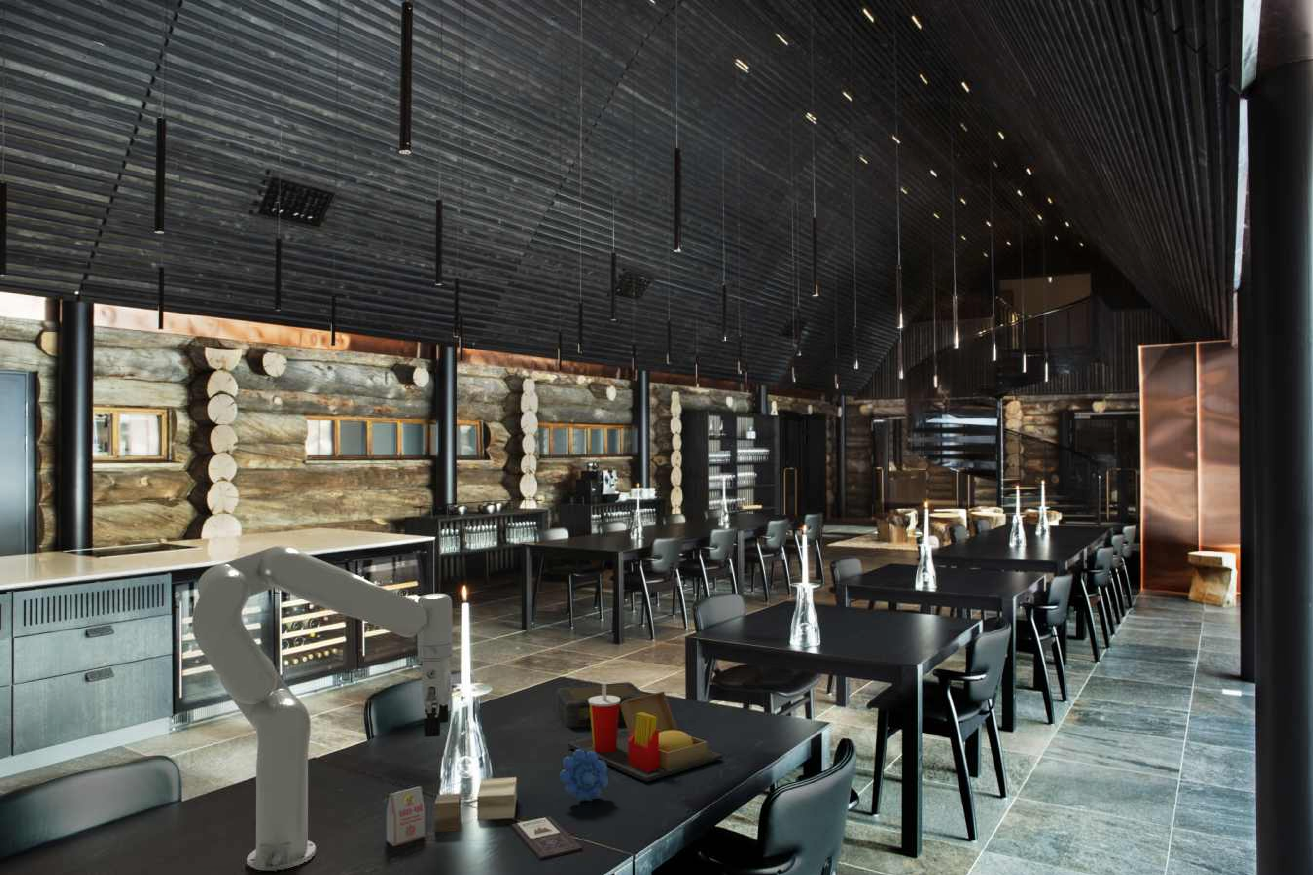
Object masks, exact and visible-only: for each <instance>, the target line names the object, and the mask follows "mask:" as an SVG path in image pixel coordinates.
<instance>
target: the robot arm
mask: <svg viewBox="0 0 1313 875" xmlns="http://www.w3.org/2000/svg"><path fill="white" fill-rule="evenodd" d="M273 589H276V590H278V591H281V592H283V593H286V594H288V595H291V596H293V597H297V598H298V599H299V598H300V599H302V600H304V601H307V602H309V603H312V604H314V605H317V606H319V607H322V608H324V609H327V610H329V611H331V612H332V611H333V612H335V613H337V614H340V615H343V616H346V617H350V618H354V619H357V620H360V621H362V622H365V623H368V624H370V625H372V626H376V627H378V628H381V629H384V630H385V631H389V632H391V633H394V634H396V635H399V636H401V637H404V638H405V637H406V638H409V637H413V636H417V660H418V661H421V662H422V669H421V671H422V672H421V673H422V674H421V680H422V687H421V688H422V689H421V692H422V695H421V697H422V698H421V699H422V705H423V706H424V707H425V708H424V719H423V720H424V722H423V723H424V724H423V726H424V729H423V730H424V737H426V738H427V737H428V738H429V737H430V738H431V737H439V736H440V735H441V723H443V724H445V723H448V722H449V704H448V702H449V701H450V699H451V698H452V696H453V686H452V684H453V682H452V668H451V667H452V666H451V665H452V664H451V659H452V658H453V657H454V642H453V641H454V640H453V637H454V636H453V629H454V627H453V599H452V597H451V596H450V595H448V594H445V593H433V594H432V593H431V594H425V595H421V596H404V595H401V594H398V593H396V592H392V591H390V590H388V589H387V588H384V587H382V586H379V585H378V584H374V583H373V582H371V581H369V580H367V579H365V578H363V577H361V576H360V575H358V574H355V573H353V572H352V571H348V570H346V569H343V568H341V567H339V566H337V565H333V564H331V563H329V562H327V561H324V560H321V559H320V558H319V559H318V558H317V557H314V556H312V555H309V554H307V553H305V552H303V551H300V550H297V549H295V548H291V547H288V546H285V545H283V546H282V545H278V546H273V547H269V548H266V549H262V550H260V551H257V552H254V553H251V554H248V555H244V556H243V557H242V556H241V557H238V558H235V559H233V560H230V561H226V562H223V563H219V564H217V565H214V566H212V567H210V568H208V569H207V570H205V572H203V573H202V575H201V577H200V578H199V579H198V582H197V594H198V596H199V597H198V599H197V602H196V604H195V606H194V609H193V613H192V620H191V621H192V622H191V623H192V624H191V627H192V628H191V629H192V634H193V637H194V639H195V642H196V644H197V645H198V647H199V649H200V651H201V652H202V653H203V655H204V656H205V658H206V660H207V661H208V662H209V664H210V666H211V667H212V669H213V670H214V671H215V673H216V674H217V675H218V677H219V681H220V683H221V685H222V687H223V688H224V689H225V691H226V693H227V694H228V695H229V696H230V698H231V699H232V701H233V702H234V703H235V705H236V706H237V707H238V709H239V710H240V711H241V713H242V714H243V716H244V717H245V719H247V721H248V723H250V725H251V726H252V728H253V730H254V731H255V733H256V734H257V750H256V751H257V752H256V762H255V763H256V765H255V769H256V770H255V786H256V787H255V788H256V789H255V795H256V796H255V849H254V850H252V851H251V852H250V853H249V854H248V856H247V858H246V865H247V864H248V865H249V866H251V867H253V868H255V869H257V870H275V869H285V868H291V867H294V866H297V865H299V866H301V865H300V864H302V865H303V863H304V862H306V863H307V862H309V861H310V860H312V859H313V858H314V857H315V856H316V854H315V853H317V845H316V843H314V842H313V841H312V840H309V800H308V799H309V749H310V741H311V740H310V739H311V731H312V730H311V728H312V725H311V716H310V713H309V711H308V709H307V707H306V705H305V704H304V703H303V702H302V701H301V700H300V699H299V698H298V697H296V696H295V695H294V693H293V692H292V691H291V689H290V688H289V687H288V685H287V684H286V682H285V681H284V680H283V678H282V677H281V676H280V674H279V673H278V671H277V669H276V667H275V664H274V662H273V661H272V660H271V659H270V658H269V657H268V656H267V655H266V654H265V653H264V652H263V651H262V649H261V648H260V646H259V645H258V644H257V641H255V639H254V638H253V636H252V635H251V633H250V631H249V630H248V629H247V627H246V626H245V624H244V622H243V617H242V616H243V609H244V607H245V605H246V604H247V602H248V601H249V598H252V597H253V596H256V595H259V594H262V593H265V592H267V591H270V590H273ZM313 856H314V857H313ZM312 857H313V858H312ZM308 860H309V861H308ZM304 864H305V863H304ZM248 865H247V866H248ZM297 867H298V866H297ZM294 868H295V867H294ZM291 869H292V868H291Z"/></svg>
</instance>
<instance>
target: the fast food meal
mask: <svg viewBox="0 0 1313 875" xmlns="http://www.w3.org/2000/svg"><path fill="white" fill-rule="evenodd" d="M606 684H607V683H606V682H602V689H603V696H596V697H592V698H590V699H589V704H590V714H591V725H592V726H591V735H592V736H591V737H587V738H584V739H583V738H582V739H579V740H575V741H571V742H568V743H567V748H570V749H571V750H574V751H576V750H577V749H581V750H583V751H584V752H585V754H586V753H587V752H589V751H595V752H596V753H597V755H598V760H600V761H604V762H605V763H606V766H607V765H608V766H610V767H611V768H614V769H616V770H619V771H621V772H623V773H626V774H628V775H630V776H632V777H634V778H637V779H639V780H641V781H643V782H649V781H652V780H653V781H654V780H656V779H660V778H663V777H665V776H669V775H673V774H676V773H679V772H680V773H681V772H683V771H687V770H690V769H693V768H696V767H700V766H703V765H705V764H709V763H712V762H715V761H719V760H722V759H723V754H721V753H718V752H716V751H712V750H710V749H708V741H706V740H702V739H700V738H698V737H694V736H693V735H692V736H691V735H689V734H687V733H685V732H684V731H679V730H678V728H677V726H676V722H675V720H674V717H673V714H672V711H671V707H670V705H669V702H668V699H667V696H666V693H665V691H661V692H660V691H659V692H656V693H651V694H645V695H646V696H641V697H637V698H632V699H628V700H625V701H623V702H622V703H620V698H618V697H615V696H606ZM619 703H620V707H621V710H622V713H623V717H624V720H625V726H626V728H623V729H620V730H619V729H618V728H619V723H618V715H619Z"/></svg>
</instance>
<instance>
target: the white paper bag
mask: <svg viewBox="0 0 1313 875" xmlns="http://www.w3.org/2000/svg"><path fill="white" fill-rule="evenodd" d="M388 798H389V799H388V804H387V807H386V808H387V809H386V841H387V842H388V843H389V844H391V846H393V847H396V846H399V845H402V844H406V843H409V842H413V841H416V840H419V839H423V838H425V837H426V807H425V803H424V801H425V800H424V795H423V787H422V786H421V785H420V786H416V787H412V788H408V789H403V790H400V791H396V792H393V793H392V792H391V793H389V797H388Z"/></svg>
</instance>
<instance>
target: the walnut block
mask: <svg viewBox="0 0 1313 875" xmlns="http://www.w3.org/2000/svg"><path fill="white" fill-rule="evenodd" d="M461 823H462V793H447V794H446V793H445V794H437V796H436V798H435V802H434V833H440V832H457V831H459V830H460V827H461Z"/></svg>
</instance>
